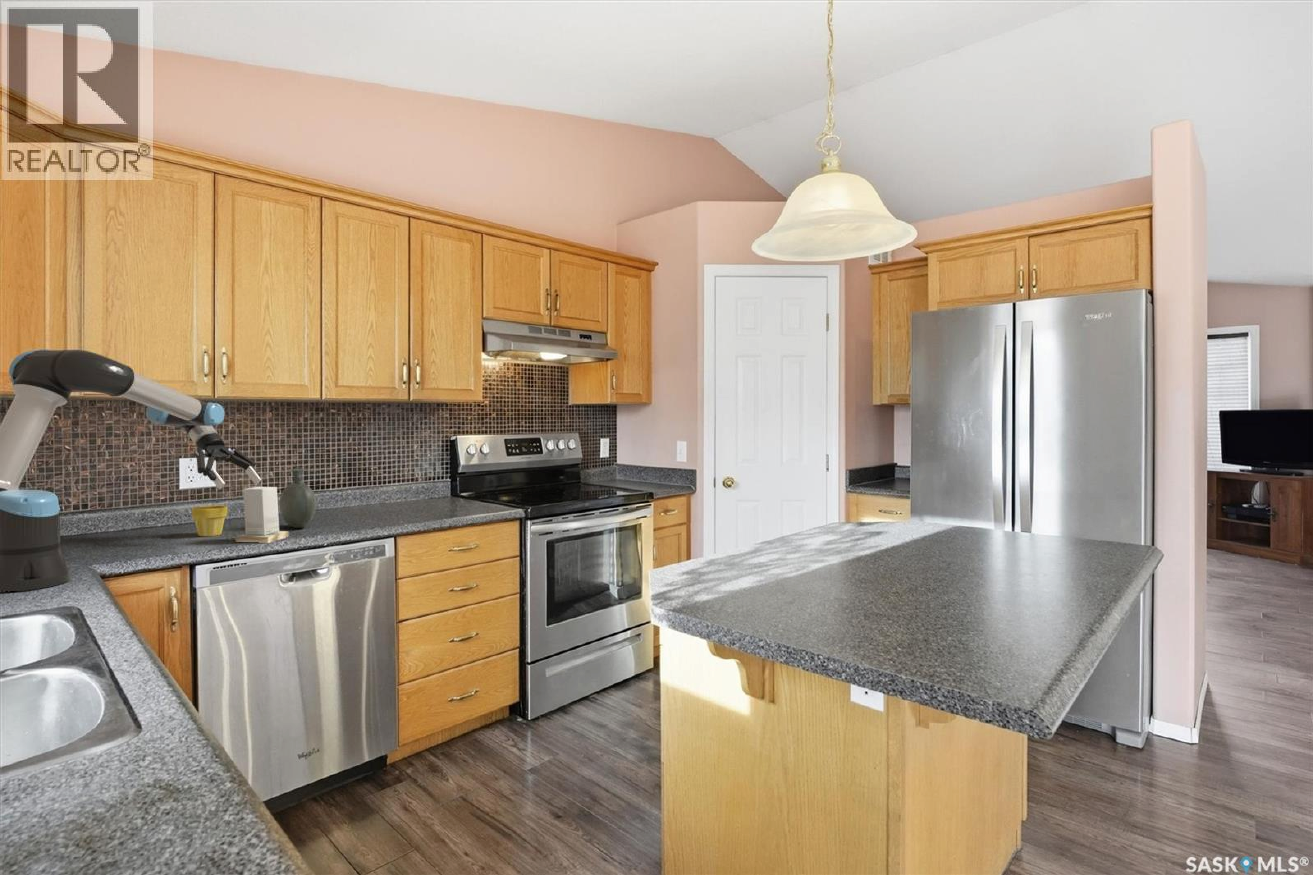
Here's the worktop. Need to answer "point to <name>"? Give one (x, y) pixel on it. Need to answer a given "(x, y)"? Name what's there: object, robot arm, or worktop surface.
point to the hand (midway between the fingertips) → (240, 484)
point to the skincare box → (261, 510)
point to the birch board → (262, 537)
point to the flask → (297, 502)
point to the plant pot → (209, 519)
